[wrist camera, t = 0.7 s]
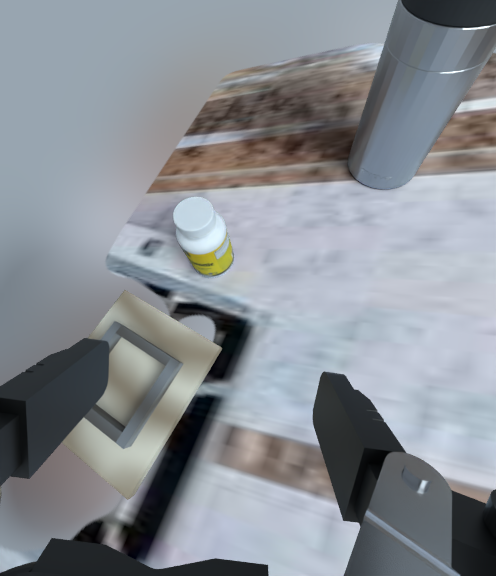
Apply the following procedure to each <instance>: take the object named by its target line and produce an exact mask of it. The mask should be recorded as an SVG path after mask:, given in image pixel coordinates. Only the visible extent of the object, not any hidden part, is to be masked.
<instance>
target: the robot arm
mask: <svg viewBox="0 0 496 576" xmlns="http://www.w3.org/2000/svg"><path fill="white" fill-rule="evenodd" d="M495 48H496V0H398V2H397V6H396V9H395V12H394V15H393V18H392V22H391V25H390V28H389V31H388V34H387V38H386V41H385V44H384V47H383V50H382V53H381V57H380V60H379V63H378V66H377V69H376V72H375V76H374V79H373V82H372V85H371V88H370V91H369V94H368V98H367V101H366V104H365V107H364V110H363V113H362V116H361V120H360V123H359V126H358V129H357V132H356V135H355V138H354V141H353V145H352V148H351V151H350V154H349V158H348V167H349V171H350V172H351V174H352V175H353V176H354V177H355V178H356V179H357V180H358V181H359V182H361V183H362V184H364V185H367V186H369V187H372V188H376V189H393V188H397V187H400V186H402V185H405V184H406V183H407V182H409V181H410V180H411V179H412V178H413V176H414V175H415V173H416V172H417V170H418V169H419V167H420V165H421V164H422V162H423V161H424V159H425V158H426V156H427V155H428V153H429V152H430V150H431V149H432V147H433V145H434V144H435V142H436V141H437V139H438V138H439V136H440V135H441V133H442V131H443V130H444V128H445V127H446V125H447V124H448V122H449V120H450V119H451V117H452V116H453V114H454V113H455V111H456V109H457V108H458V106H459V105H460V103H461V102H462V100H463V99H464V97H465V95H466V94H467V92H468V91H469V89H470V88H471V86H472V84H473V83H474V81H475V80H476V78H477V77H478V75H479V74H480V72H481V70H482V69H483V67H484V66H485V64H486V63H487V61H488V59H489V58H490V56H491V55H492V53H493V51H494V50H495ZM108 378H109V343H108V342H107V341H104V340H97V339H89V338H84V339H82V340H81V341H79V342H78V343H76V344H75V345H73V346H72V347H70V348H69V349H65V350H63V351H60V352H57V353H54V354H51V355H49V356H48V357H46V358H44V359H43V360H41V361H40V362H38V363H37V364H36V365H33V366H32V367H30V368H29V369H27V370H26V371H25V372H22V373H21V374H19V375H18V376H16V377H14V378H13V379H11V380H10V381H8V382H7V383H5V384H3V385H2V386H0V502H1V494H2V493H1V485H2V484H3V483H4V482H5V481H6V480H7V479H8V478H9V477H10V476H11V477H19V478H27V479H30V478H31V476H32V475H33V474H34V473H35V472H36V471H37V470H38V469H39V467H40V466H41V465H42V464H43V463H44V462H45V461H46V459H47V458H48V457H49V456H50V455H51V454H52V453H53V452H54V450H55V449H56V448H57V447H58V446H59V445H60V443H61V442H62V441H63V440H64V439H65V438H66V437H67V436H68V435H69V433H70V432H71V431H72V430H73V429H74V428H75V427H76V425H77V424H78V423H79V422H80V421H81V420H82V419H83V418H84V416H85V415H86V414H87V413H88V412H89V411H90V410H91V408H92V407H93V406H94V405H95V404H96V403H97V402H98V401H99V399H100V398H101V397H102V396H103V394H104V392H105V390H106V388H107V384H108ZM313 425H314V428H315V432H316V435H317V438H318V441H319V444H320V448H321V451H322V454H323V457H324V460H325V464H326V467H327V470H328V473H329V476H330V480H331V483H332V486H333V489H334V492H335V496H336V499H337V502H338V505H339V508H340V512H341V515H342V518H343V521H350V522H358V523H359V524H360V527H361V528H360V531H359V533H358V536H357V539H356V542H355V545H354V548H353V551H352V554H351V556H350V559H349V562H348V565H347V568H346V571H345V574H344V576H496V490H493V491H492V492H491V494H490V497H489V499H488V501H487V504H485V503H483V502H480V501H478V500H475V499H473V498H470V497H467V496H465V495H462V494H460V493H457V492H454V491H452V490H451V489H450V487H449V485H448V483H447V482H446V480H445V479H444V478H443V477H442V475H441V474H440V473H439V472H438V471H437V470H435V469H434V468H433V467H432V466H431V465H429V464H428V463H426V462H425V461H423V460H421V459H420V458H418V457H415V456H413V455H411V454H408V453H406V452H405V450H404V449H403V447H402V446H401V444H400V443H399V441H398V440H397V439H396V437H395V436H394V434H393V433H392V431H391V430H390V428H389V427H388V425H387V424H386V422H384V420H383V418H382V417H381V415H380V414H379V413H377V409H376V408H375V406H374V405H373V404H372V402H371V401H370V400H369V399H368V398H367V397H366V396H365V395H363V394H362V393H361V392H360V391H359V390H354V389H353V387H352V385H351V384H350V382H349V381H348V379H347V378H346V376H345V375H344V374H337V373H330V372H323V373H322V375H321V377H320V381H319V386H318V390H317V395H316V399H315V403H314V408H313ZM0 576H268V565H264V564H256V563H248V562H240V561H232V560H224V559H216V558H215V559H210V560H205V561H200V562H195V563H190V564H185V565H180V566H174V567H169V568H164V569H153V568H150V567H148V566H146V565H144V564H142V563H140V562H138V561H136V560H134V559H132V558H131V557H129V556H127V555H125V554H123V553H121V552H119V551H117V550H115V549H113V548H111V547H109V546H107V545H103V544H95V543H87V542H79V541H71V540H63V539H55V538H52V539H51V540H50V542H49V544H48V545H47V546H46V548H45V550H44V551H43V553H42V554H41V556H40V557H39V559H38V560H37V561H36V562H31V563H27V564H24V565H21V566H17V567H14V568H12V569H9V570H7V571H4V572H2V573H0Z"/></svg>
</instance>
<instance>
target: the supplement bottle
mask: <svg viewBox="0 0 496 576" xmlns="http://www.w3.org/2000/svg"><path fill="white" fill-rule="evenodd" d="M173 220H174V223H175V225H176V238H177V241H178V243H179V245H180V246H181V248H182V249H183V251H184V253H185V254H186V256H187V257H188V259H189V261H190V262H191V264H192V265H193V267H194V268H195V270H196V271H197V272H198V273H199V274H201V275H202V276H205V277H209V278H215V277H219V276H222V275H223V274H225V273H226V272H227V271H228V270H229V269H230V268H231V266H232V264H233V261H234V253H233V249H232V246H231V242H230V239H229V235H228V232H227V228H226V225H225V222H224V220H223V218H222V217H221V215H220V214H219V213H217V212H216V211H214V209H213V206H212V204H211V203H210V202H209V201H208V200H206V199H204V198H202V197H190V198H187V199H185V200H183V201H181V202H180V203H179V204H178V205H177V206H176V208H175V210H174V212H173Z"/></svg>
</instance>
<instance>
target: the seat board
mask: <svg viewBox="0 0 496 576" xmlns="http://www.w3.org/2000/svg"><path fill="white" fill-rule="evenodd" d="M88 338H89V339H97V340H104V341H107V342H108V343H109V378H108V384H107V388H106V390H105V392H104V394H103V396H102V397H101V398H100V399H99V401H98V402H97V403H96V404H95V405H94V406H93V407H92V408H91V410H90V411H89V412H88V413H87V414H86V415H85V416H84V418H83V419H82V420H81V421H80V422H79V423H78V424H77V425H76V427H75V428H74V429H73V430H72V431H71V432H70V433H69V435H68V436H67V437H66V438H65V439H64V440H63V441H62V443H63V444H64V445H65V446H66V447H67V448H68V449H70V450H71V451H72V452H73V453H74V454H76V455H77V456H78V457H79V458H80V459H81V460H82V461H84V462H85V463H86V464H87V465H88V466H89V467H91V468H92V469H93V470H94V471H95V472H96V473H97V474H99V475H100V476H101V477H102V478H103V479H104V480H105V481H107V482H108V483H109V484H110V485H111V486H112V487H114V488H115V489H116V490H117V491H118V492H119V493H120V494H122V495H123V496H124V497H125V498H126V499H127V500H128V499H130V498H131V497H132V496H134V495H135V493H136V491H137V490H138V488H139V486H140V485H141V483H142V481H143V480H144V478H145V476H146V475H147V473H148V471H149V470H150V468H151V466H152V465H153V463H154V461H155V460H156V458H157V456H158V455H159V453H160V451H161V450H162V448H163V446H164V445H165V443H166V441H167V440H168V438H169V436H170V435H171V433H172V431H173V430H174V428H175V426H176V425H177V423H178V421H179V420H180V418H181V416H182V415H183V413H184V411H185V410H186V408H187V406H188V405H189V403H190V401H191V400H192V398H193V396H194V395H195V393H196V391H197V390H198V388H199V386H200V385H201V383H202V381H203V380H204V378H205V376H206V375H207V373H208V371H209V370H210V368H211V366H212V365H213V363H214V361H215V360H216V358H217V357H218V355H219V353H220V352H221V350H222V348H221V347H220V346H218V345H216V344H215V343H213V342H211V341H210V340H208V339H206V338H205V337H203V336H201V335H200V334H198V333H196V332H195V331H193V330H191V329H190V328H188V327H186V326H185V325H183V324H181V323H180V322H178V321H176V320H175V319H173V318H171V317H170V316H168V315H166V314H164V313H163V312H161V311H159V310H158V309H156V308H154V307H153V306H151V305H149V304H148V303H146V302H144V301H143V300H141V299H139V298H138V297H136V296H134V295H133V294H131V293H129V292H128V291H126V290H124V292H123V293H122V294H121V296H120V297H119V298H118V299H117V301H116V302H115V303H114V305H113V306H112V307H111V309H110V310H109V311H108V312H107V314H106V315H105V316H104V318H103V319H102V320H101V321H100V323H99V324H98V325H97V327H96V328H95V329H94V331H93V332H92V333H91V335H90V336H89V337H88Z"/></svg>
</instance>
